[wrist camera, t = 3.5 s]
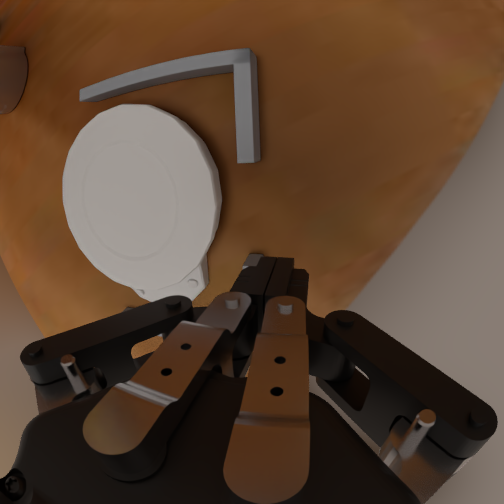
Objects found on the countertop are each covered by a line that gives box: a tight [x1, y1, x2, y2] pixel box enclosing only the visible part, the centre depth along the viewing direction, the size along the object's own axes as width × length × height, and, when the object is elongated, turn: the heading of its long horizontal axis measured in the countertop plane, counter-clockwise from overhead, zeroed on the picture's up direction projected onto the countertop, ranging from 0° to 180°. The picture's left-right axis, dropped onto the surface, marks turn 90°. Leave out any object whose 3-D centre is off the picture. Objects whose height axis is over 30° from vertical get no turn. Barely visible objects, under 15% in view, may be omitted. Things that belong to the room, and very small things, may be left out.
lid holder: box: [80, 48, 263, 336], centre depth 24 cm, size 25×16×2 cm, turn 2°
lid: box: [63, 104, 222, 302], centre depth 25 cm, size 17×20×3 cm
